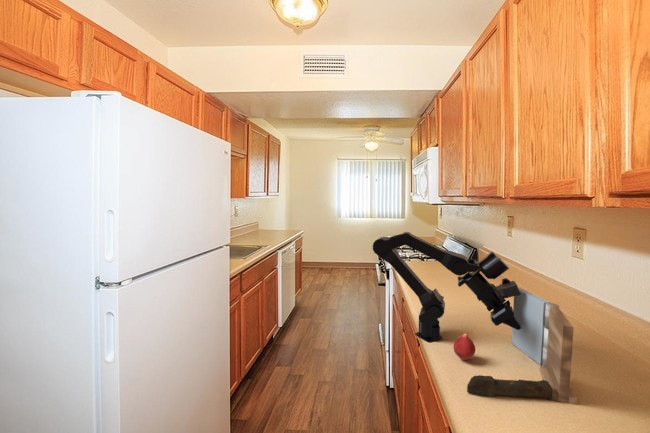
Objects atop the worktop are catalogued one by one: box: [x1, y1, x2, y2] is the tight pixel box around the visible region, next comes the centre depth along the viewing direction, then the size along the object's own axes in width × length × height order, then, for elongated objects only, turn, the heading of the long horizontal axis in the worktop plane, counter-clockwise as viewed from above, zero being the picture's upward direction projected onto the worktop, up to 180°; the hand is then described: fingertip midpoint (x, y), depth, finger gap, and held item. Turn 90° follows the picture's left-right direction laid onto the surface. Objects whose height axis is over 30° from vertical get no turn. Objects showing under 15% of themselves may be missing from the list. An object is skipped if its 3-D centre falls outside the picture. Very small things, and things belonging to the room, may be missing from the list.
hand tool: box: [466, 374, 552, 401], centre depth 81 cm, size 19×4×5 cm, turn 83°
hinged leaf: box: [511, 287, 552, 366], centre depth 97 cm, size 3×16×18 cm, turn 3°
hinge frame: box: [539, 302, 578, 406], centre depth 84 cm, size 5×16×18 cm, turn 157°
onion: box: [453, 333, 476, 361], centre depth 96 cm, size 6×6×8 cm
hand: (519, 328), depth 101 cm, fingers closed
